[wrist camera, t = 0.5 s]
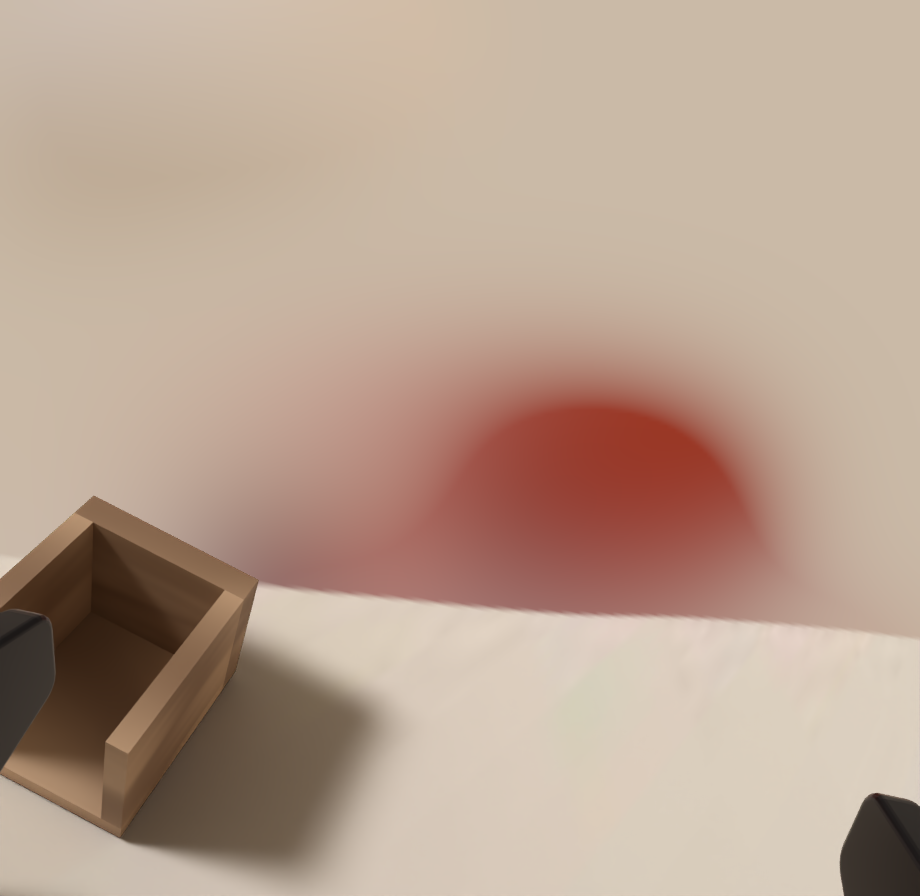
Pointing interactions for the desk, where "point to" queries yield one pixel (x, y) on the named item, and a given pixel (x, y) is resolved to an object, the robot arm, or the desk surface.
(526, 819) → the desk surface
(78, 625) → the socket
